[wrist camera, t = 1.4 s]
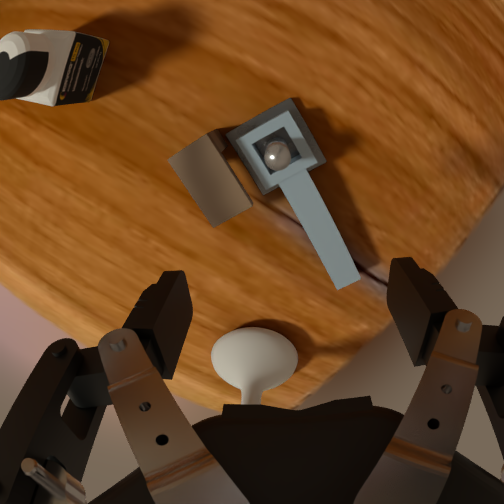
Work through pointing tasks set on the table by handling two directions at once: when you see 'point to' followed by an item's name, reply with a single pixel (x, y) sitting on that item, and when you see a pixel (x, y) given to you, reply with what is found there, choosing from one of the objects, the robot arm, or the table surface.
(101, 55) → the medicine bottle
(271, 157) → the pintle block
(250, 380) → the flower in vase
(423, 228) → the table surface
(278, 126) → the link
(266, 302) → the table surface
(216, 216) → the block
